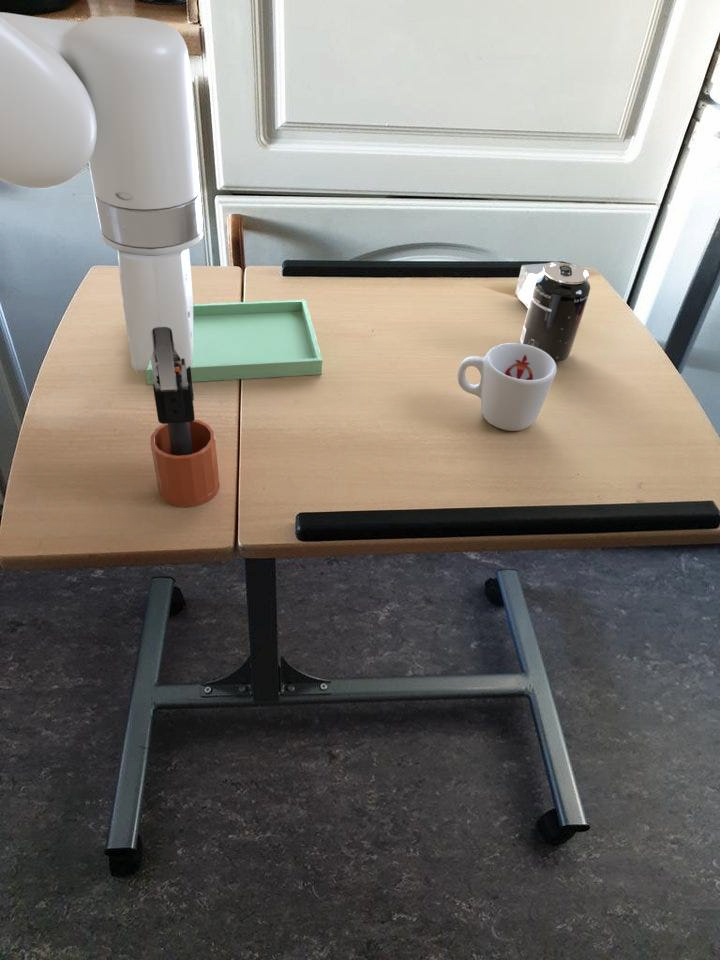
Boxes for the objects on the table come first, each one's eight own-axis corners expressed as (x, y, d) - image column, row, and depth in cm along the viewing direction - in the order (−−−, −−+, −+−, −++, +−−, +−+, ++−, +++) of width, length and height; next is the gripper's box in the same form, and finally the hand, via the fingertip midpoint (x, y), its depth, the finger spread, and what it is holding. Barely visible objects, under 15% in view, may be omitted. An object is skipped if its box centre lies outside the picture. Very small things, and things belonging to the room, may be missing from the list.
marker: (174, 487, 70) (157, 369, 61) (174, 472, 72) (157, 355, 62) (197, 485, 70) (183, 368, 61) (196, 471, 72) (183, 354, 63)
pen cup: (159, 510, 69) (150, 460, 65) (159, 469, 74) (151, 420, 69) (220, 504, 70) (216, 455, 66) (217, 464, 75) (213, 416, 70)
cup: (442, 420, 83) (453, 363, 77) (461, 385, 88) (472, 329, 83) (532, 446, 80) (550, 389, 75) (546, 408, 86) (563, 352, 80)
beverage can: (566, 344, 97) (591, 263, 89) (570, 372, 92) (596, 288, 84) (517, 338, 98) (537, 256, 89) (517, 365, 93) (539, 280, 84)
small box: (547, 291, 108) (555, 261, 105) (564, 309, 104) (573, 279, 101) (513, 293, 107) (520, 263, 104) (529, 312, 103) (537, 281, 100)
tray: (146, 384, 84) (144, 370, 83) (149, 319, 95) (147, 305, 94) (322, 374, 88) (322, 360, 87) (305, 313, 99) (305, 299, 97)
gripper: (105, 176, 58) (137, 365, 70) (90, 265, 46) (131, 471, 59) (198, 176, 59) (213, 361, 72) (206, 262, 48) (222, 465, 60)
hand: (176, 409), depth 65 cm, fingers closed on marker, 2 cm apart
